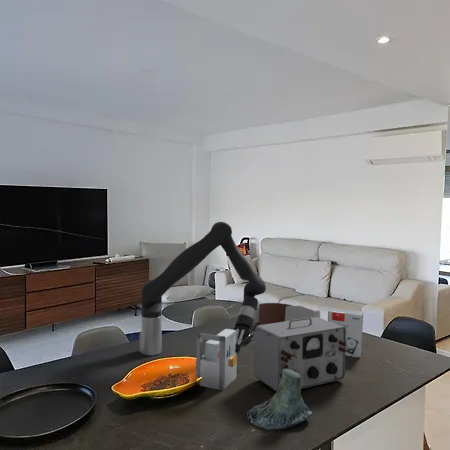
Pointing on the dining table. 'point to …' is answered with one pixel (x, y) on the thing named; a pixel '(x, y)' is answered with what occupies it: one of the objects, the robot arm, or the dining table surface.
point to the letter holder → (272, 313)
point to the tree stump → (282, 405)
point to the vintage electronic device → (300, 351)
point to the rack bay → (215, 364)
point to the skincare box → (214, 346)
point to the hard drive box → (349, 328)
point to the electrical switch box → (300, 312)
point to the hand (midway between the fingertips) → (235, 353)
